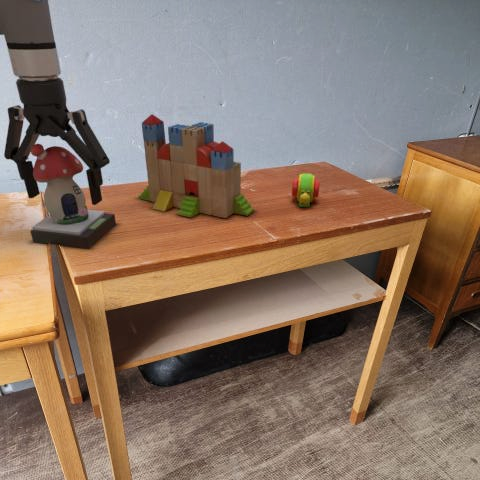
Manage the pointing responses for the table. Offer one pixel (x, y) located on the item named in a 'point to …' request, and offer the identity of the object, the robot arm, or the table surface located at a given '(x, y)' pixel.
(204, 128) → the block set
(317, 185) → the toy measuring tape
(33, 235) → the kitchen scale
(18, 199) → the table surface
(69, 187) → the decorative ornament
